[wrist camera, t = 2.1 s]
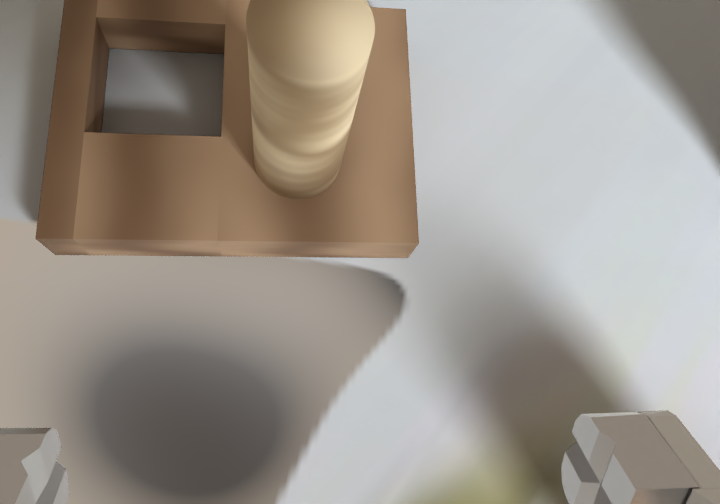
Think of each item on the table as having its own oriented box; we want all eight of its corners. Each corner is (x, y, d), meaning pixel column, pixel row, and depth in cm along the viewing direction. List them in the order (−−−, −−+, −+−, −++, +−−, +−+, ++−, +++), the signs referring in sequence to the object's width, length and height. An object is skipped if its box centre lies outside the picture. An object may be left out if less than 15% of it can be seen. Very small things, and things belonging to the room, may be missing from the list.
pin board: (396, 38, 34) (405, 9, 32) (407, 257, 31) (418, 243, 29) (81, 21, 32) (66, -12, 30) (55, 254, 29) (35, 238, 26)
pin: (340, 121, 30) (372, -27, 20) (341, 200, 29) (377, 82, 19) (254, 118, 29) (247, -36, 20) (253, 198, 28) (244, 76, 19)
